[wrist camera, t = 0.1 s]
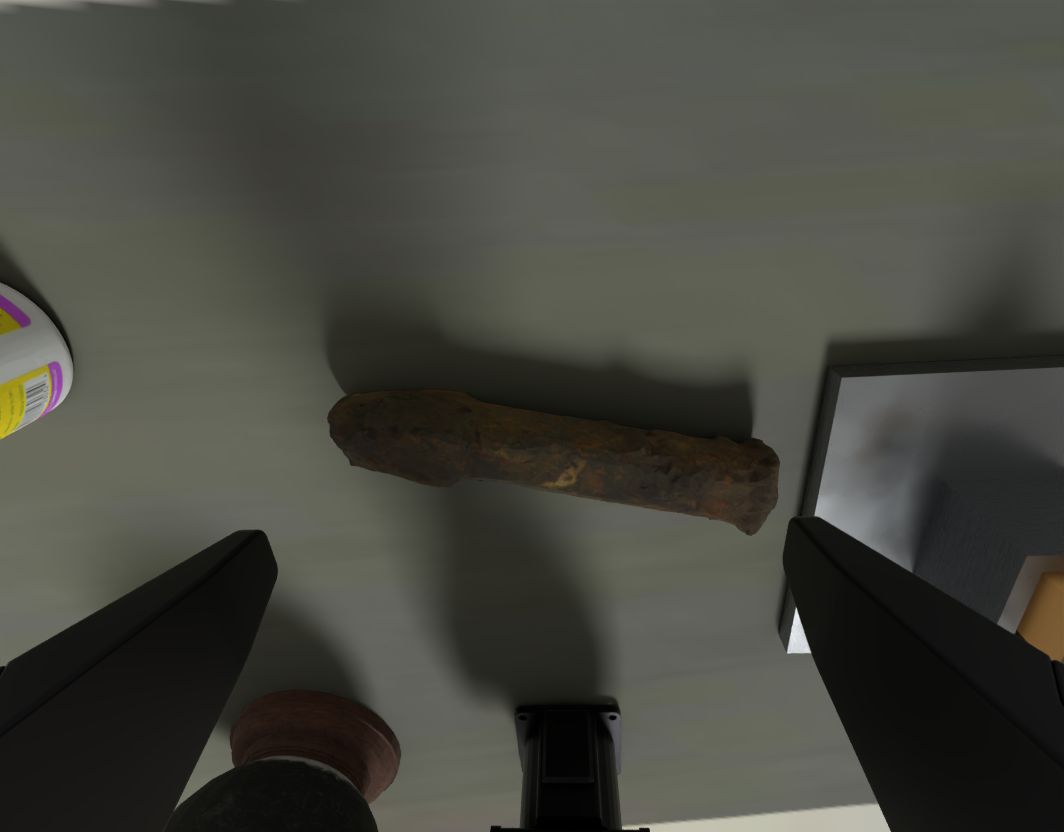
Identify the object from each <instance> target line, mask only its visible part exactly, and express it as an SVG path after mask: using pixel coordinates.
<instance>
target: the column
mask: <svg viewBox="0 0 1064 832" xmlns="http://www.w3.org/2000/svg"><path fill="white" fill-rule="evenodd" d="M1016 630H1017V631H1018V632H1019V633H1020V635H1021V636H1022V637H1023V638H1024V639H1025V640H1026V641H1027V642H1028V643H1029V644H1031V645H1033V646H1034V647H1036V648H1037V649H1039V650H1041V651H1042V652H1044V653H1046V654H1047V655H1049V656H1050V658H1051V661H1052V660H1058V661H1059V662H1061V663H1063V664H1064V572H1043V573H1042V575H1041V577H1040V580H1039V582H1038V584H1037V586H1036V588H1035V590H1034V593H1033V595H1032V597H1031V599H1030V601H1029V603H1028V606H1027V608H1026V610H1025V612H1024V614H1023V616H1022V619H1021V621H1020V623H1019V625H1018V627H1017V629H1016Z"/></svg>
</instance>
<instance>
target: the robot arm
mask: <svg viewBox="0 0 1064 832" xmlns="http://www.w3.org/2000/svg"><path fill="white" fill-rule="evenodd" d="M783 567H784V571H785V574H786V577H787V581H788V584H789V587H790V590H791V593H792V596H793V599H794V602H795V605H796V608H797V612H798V615H799V618H800V621H801V624H802V627H803V630H804V633H805V636H806V640H807V642H808V645H809V648H810V651H811V654H812V656H813V659H814V661H815V664H816V666H817V668H818V671H819V673H820V675H821V677H822V680H823V682H824V684H825V686H826V689H827V691H828V693H829V695H830V697H831V700H832V702H833V704H834V706H835V708H836V711H837V713H838V715H839V717H840V720H841V722H842V724H843V726H844V728H845V731H846V733H847V735H848V737H849V740H850V742H851V744H852V746H853V748H854V751H855V753H856V755H857V757H858V760H859V762H860V764H861V766H862V768H863V771H864V773H865V775H866V777H867V779H868V782H869V784H870V786H871V788H872V791H873V793H874V795H875V797H876V799H877V802H878V804H879V806H880V808H881V810H882V813H883V815H884V817H885V819H886V822H887V824H888V826H889V828H890V831H891V832H1064V664H1063V663H1061V662H1059V661H1058V660H1052V661H1051V658H1050V656H1049V655H1047V654H1046V653H1044V652H1042V651H1041V650H1039V649H1037V648H1036V647H1034V646H1033V645H1031V644H1029V643H1028V642H1026V641H1024V640H1023V639H1021V638H1019V637H1018V636H1016V635H1014V634H1013V633H1011V632H1009V631H1008V630H1006V629H1004V628H1003V627H1001V626H999V625H998V624H996V623H994V622H993V621H991V620H989V619H988V618H986V617H985V616H983V615H981V614H980V613H978V612H976V611H975V610H973V609H971V608H970V607H968V606H966V605H965V604H963V603H961V602H960V601H958V600H956V599H955V598H953V597H951V596H950V595H948V594H946V593H945V592H943V591H941V590H940V589H938V588H937V587H935V586H933V585H932V584H930V583H928V582H927V581H925V580H923V579H922V578H920V577H918V576H917V575H915V574H913V573H912V572H910V571H908V570H907V569H905V568H903V567H902V566H900V565H898V564H897V563H895V562H893V561H892V560H890V559H888V558H887V557H885V556H884V555H882V554H880V553H879V552H877V551H875V550H874V549H872V548H870V547H869V546H867V545H865V544H864V543H862V542H860V541H859V540H857V539H855V538H854V537H852V536H850V535H849V534H847V533H845V532H844V531H842V530H840V529H839V528H837V527H836V526H834V525H832V524H831V523H829V522H827V521H826V520H824V519H822V518H820V517H818V516H795V517H793V518H792V519H791V520H790V521H789V524H788V529H787V534H786V540H785V545H784V551H783ZM277 574H278V568H277V563H276V560H275V557H274V555H273V552H272V549H271V546H270V543H269V541H268V538H267V536H266V534H265V533H264V532H263V531H261V530H239V531H236V532H234V533H232V534H231V535H229V536H227V537H225V538H224V539H222V540H220V541H218V542H217V543H215V544H213V545H211V546H210V547H208V548H206V549H204V550H203V551H201V552H199V553H198V554H196V555H194V556H192V557H191V558H189V559H187V560H185V561H184V562H182V563H180V564H178V565H177V566H175V567H173V568H171V569H170V570H168V571H166V572H164V573H163V574H161V575H159V576H157V577H156V578H154V579H152V580H151V581H149V582H147V583H145V584H144V585H142V586H140V587H138V588H137V589H135V590H133V591H131V592H130V593H128V594H126V595H124V596H123V597H121V598H119V599H117V600H116V601H114V602H112V603H110V604H109V605H107V606H105V607H104V608H102V609H100V610H98V611H97V612H95V613H93V614H91V615H90V616H88V617H86V618H84V619H83V620H81V621H79V622H77V623H76V624H74V625H72V626H70V627H69V628H67V629H65V630H64V631H62V632H60V633H58V634H57V635H55V636H53V637H51V638H50V639H48V640H46V641H44V642H43V643H41V644H39V645H37V646H36V647H34V648H32V649H30V650H29V651H27V652H25V653H23V654H22V655H20V656H18V657H17V658H15V659H13V660H11V661H10V662H8V663H7V665H6V666H1V667H0V832H164V830H165V828H166V826H167V824H168V822H169V819H170V817H171V815H172V813H173V811H174V809H175V807H176V805H177V803H178V801H179V799H180V797H181V795H182V793H183V791H184V789H185V786H186V784H187V782H188V780H189V778H190V776H191V774H192V772H193V770H194V768H195V766H196V764H197V762H198V760H199V758H200V756H201V753H202V751H203V749H204V747H205V745H206V743H207V741H208V739H209V737H210V735H211V733H212V731H213V729H214V727H215V725H216V723H217V720H218V718H219V716H220V714H221V712H222V710H223V708H224V706H225V704H226V702H227V700H228V698H229V696H230V694H231V692H232V690H233V687H234V685H235V683H236V681H237V679H238V677H239V675H240V673H241V671H242V669H243V666H244V664H245V662H246V660H247V657H248V655H249V652H250V650H251V647H252V645H253V642H254V639H255V637H256V634H257V631H258V629H259V626H260V623H261V620H262V618H263V615H264V612H265V609H266V607H267V604H268V601H269V599H270V596H271V593H272V590H273V588H274V585H275V582H276V579H277ZM515 723H516V730H517V737H518V745H519V752H520V759H521V767H522V772H523V781H522V798H521V815H520V828H501V826H491V830H490V832H650V829H649V828H639V830H622V824H621V812H620V801H619V790H618V779H617V775H619V774H620V773H621V714H620V709H619V708H617V707H613V706H579V707H519V708H517V709H516V711H515Z"/></svg>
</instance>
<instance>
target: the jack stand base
mask: <svg viewBox="0 0 1064 832" xmlns="http://www.w3.org/2000/svg"><path fill="white" fill-rule="evenodd" d="M801 516H818V517H820V518H822V519H824V520H826V521H827V522H829V523H831V524H832V525H834V526H836V527H837V528H839V529H840V530H842V531H844V532H845V533H847V534H849V535H850V536H852V537H854V538H855V539H857V540H859V541H860V542H862V543H864V544H865V545H867V546H869V547H870V548H872V549H874V550H875V551H877V552H879V553H880V554H882V555H884V556H885V557H887V558H888V559H890V560H892V561H893V562H895V563H897V564H898V565H900V566H902V567H903V568H905V569H907V570H908V571H910V572H912V573H913V574H915V575H917V576H918V577H920V578H922V579H923V580H925V581H927V582H928V583H930V584H932V585H933V586H935V587H937V588H938V589H940V590H941V591H943V592H945V593H946V594H948V595H950V596H951V597H953V598H955V599H956V600H958V601H960V602H961V603H963V604H965V605H966V606H968V607H970V608H971V609H973V610H975V611H976V612H978V613H980V614H981V615H983V616H985V617H986V618H988V619H989V620H991V621H993V622H994V623H996V624H998V625H999V626H1001V627H1003V628H1004V629H1006V630H1008V631H1009V632H1011V633H1013V634H1014V635H1016V636H1018V637H1019V638H1021V639H1023V640H1024V641H1026V640H1025V639H1024V638H1023V637H1022V636H1021V635H1020V633H1019V632H1018V631H1017V630H1016V629H1017V627H1018V625H1019V623H1020V621H1021V619H1022V616H1023V614H1024V612H1025V610H1026V608H1027V606H1028V603H1029V601H1030V599H1031V597H1032V595H1033V593H1034V590H1035V588H1036V586H1037V584H1038V582H1039V580H1040V577H1041V575H1042V573H1043V572H1064V355H1058V356H1037V357H1017V358H997V359H976V360H956V361H935V362H915V363H895V364H874V365H854V366H834V367H829V368H828V374H827V379H826V384H825V390H824V395H823V401H822V406H821V411H820V417H819V422H818V427H817V433H816V438H815V444H814V449H813V454H812V460H811V465H810V470H809V476H808V481H807V487H806V492H805V497H804V503H803V508H802V513H801ZM779 636H780V639H781V641H782V643H783V646H784V648H785V650H786V652H787V653H811V651H810V648H809V645H808V642H807V640H806V636H805V633H804V630H803V627H802V624H801V621H800V618H799V615H798V612H797V608H796V605H795V602H794V599H793V596H792V593H791V590H790V587H789V584H788V589H787V594H786V599H785V605H784V610H783V616H782V621H781V626H780V632H779ZM1026 642H1027V641H1026Z"/></svg>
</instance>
